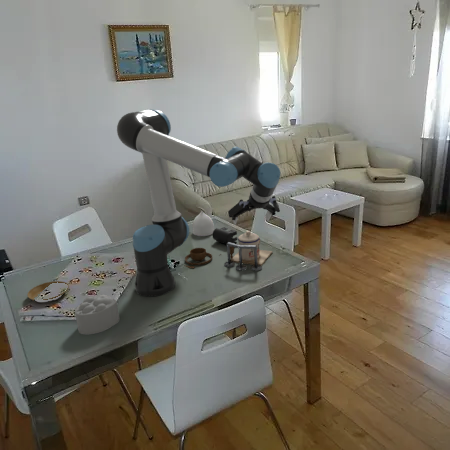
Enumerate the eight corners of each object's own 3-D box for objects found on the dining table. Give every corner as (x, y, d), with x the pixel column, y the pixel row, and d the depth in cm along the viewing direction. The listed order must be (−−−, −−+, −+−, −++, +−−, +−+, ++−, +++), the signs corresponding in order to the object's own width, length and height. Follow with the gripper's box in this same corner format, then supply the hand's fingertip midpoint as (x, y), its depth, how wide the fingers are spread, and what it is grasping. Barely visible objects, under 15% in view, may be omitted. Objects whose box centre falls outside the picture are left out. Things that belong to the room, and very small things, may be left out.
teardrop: (208, 226, 220) (206, 205, 216) (218, 232, 211) (216, 210, 207) (189, 231, 215) (187, 209, 211) (199, 237, 206) (196, 215, 202)
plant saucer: (51, 284, 169) (50, 278, 168) (78, 290, 162) (77, 284, 161) (20, 301, 156) (18, 295, 155) (47, 309, 150) (46, 302, 149)
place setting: (200, 251, 192) (199, 239, 190) (237, 259, 180) (236, 246, 178) (175, 265, 178) (174, 253, 176) (213, 275, 167) (212, 262, 165)
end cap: (212, 243, 198) (211, 229, 196) (223, 238, 203) (222, 225, 201) (227, 248, 192) (226, 234, 189) (238, 243, 196) (237, 229, 194)
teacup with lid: (251, 263, 173) (250, 236, 169) (234, 258, 178) (233, 232, 174) (268, 253, 181) (267, 227, 177) (251, 248, 187) (250, 224, 183)
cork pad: (261, 266, 171) (260, 264, 171) (230, 261, 177) (230, 260, 177) (272, 252, 183) (272, 251, 183) (243, 249, 189) (242, 247, 188)
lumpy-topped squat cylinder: (123, 320, 139) (119, 297, 136) (88, 339, 130) (83, 315, 127) (106, 310, 146) (102, 288, 143) (72, 327, 137) (66, 304, 134)
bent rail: (257, 273, 165) (257, 250, 162) (220, 267, 172) (219, 245, 169) (263, 267, 170) (262, 244, 167) (227, 261, 177) (225, 240, 174)
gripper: (228, 207, 145) (221, 232, 164) (296, 199, 149) (282, 225, 168) (225, 188, 148) (218, 215, 167) (291, 182, 152) (278, 208, 171)
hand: (250, 220), depth 168 cm, fingers open, 13 cm apart
